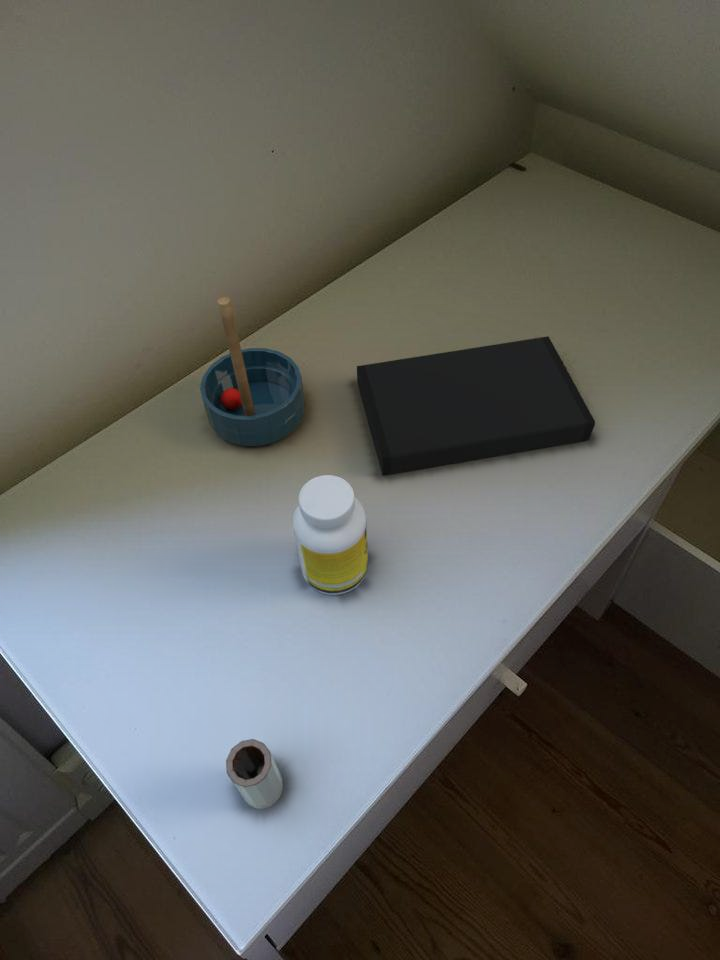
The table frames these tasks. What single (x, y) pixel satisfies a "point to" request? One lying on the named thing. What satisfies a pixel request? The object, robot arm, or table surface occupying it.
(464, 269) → the table surface
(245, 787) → the holder
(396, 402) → the external hard drive
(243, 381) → the stick
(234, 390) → the ball
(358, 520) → the pill bottle
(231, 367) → the bowl
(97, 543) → the table surface
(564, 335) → the table surface
